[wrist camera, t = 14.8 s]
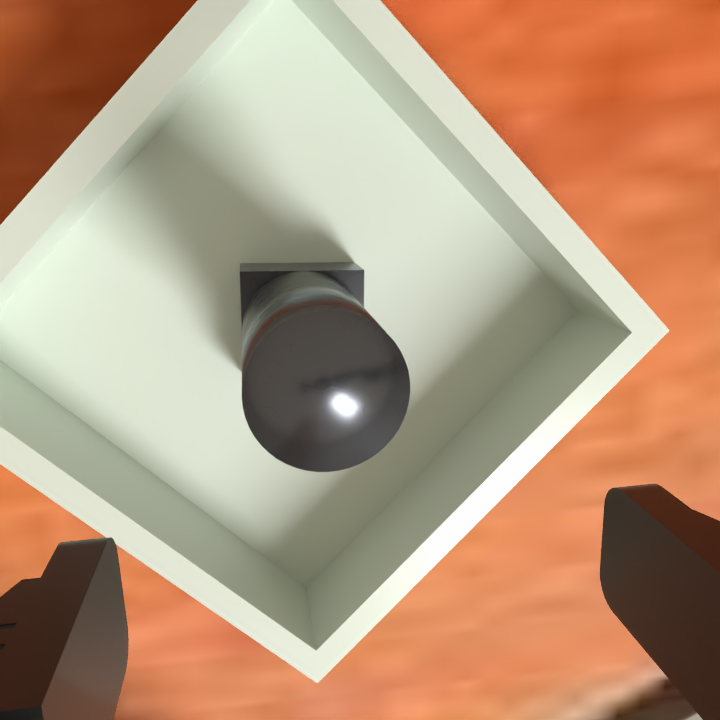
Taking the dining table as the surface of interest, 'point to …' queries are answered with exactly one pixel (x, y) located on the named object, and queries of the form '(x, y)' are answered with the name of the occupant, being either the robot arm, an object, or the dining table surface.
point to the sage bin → (294, 245)
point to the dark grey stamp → (317, 366)
